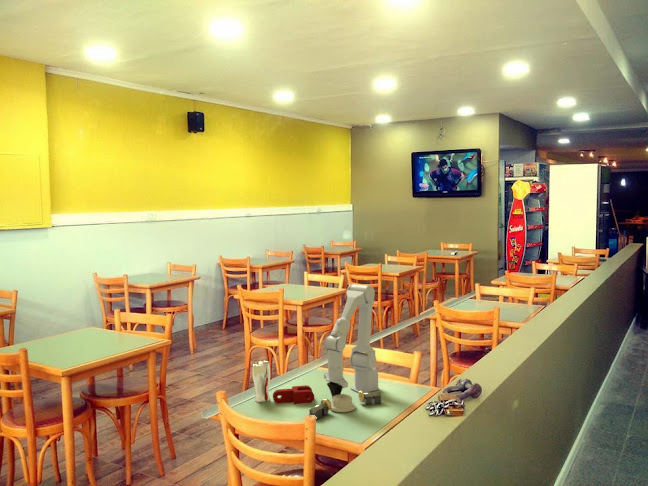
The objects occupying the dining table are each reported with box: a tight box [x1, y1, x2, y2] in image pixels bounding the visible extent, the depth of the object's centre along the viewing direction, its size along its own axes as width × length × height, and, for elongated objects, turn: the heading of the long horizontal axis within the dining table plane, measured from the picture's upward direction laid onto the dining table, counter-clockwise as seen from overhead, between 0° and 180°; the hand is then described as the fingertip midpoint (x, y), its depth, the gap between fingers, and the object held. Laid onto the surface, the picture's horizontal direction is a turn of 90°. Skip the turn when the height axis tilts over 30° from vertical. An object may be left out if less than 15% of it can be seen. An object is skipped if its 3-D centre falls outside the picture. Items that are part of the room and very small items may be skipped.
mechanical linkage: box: [272, 385, 315, 405], centre depth 231 cm, size 16×7×5 cm, turn 99°
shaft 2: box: [358, 391, 382, 406], centre depth 227 cm, size 8×4×5 cm, turn 101°
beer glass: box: [252, 360, 271, 403], centre depth 233 cm, size 7×7×15 cm
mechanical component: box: [329, 393, 356, 413], centre depth 222 cm, size 10×4×10 cm
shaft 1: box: [308, 398, 332, 421], centre depth 215 cm, size 8×4×5 cm, turn 141°
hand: (336, 400), depth 227 cm, fingers closed
